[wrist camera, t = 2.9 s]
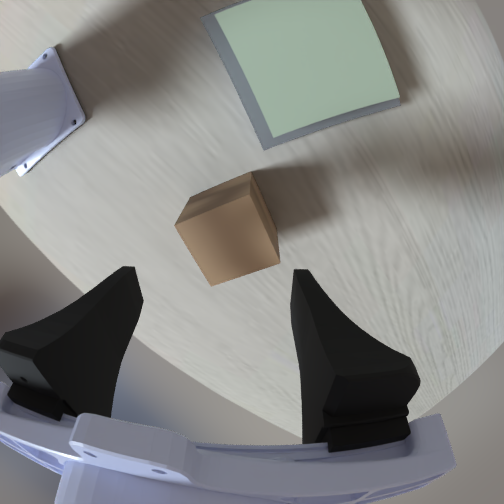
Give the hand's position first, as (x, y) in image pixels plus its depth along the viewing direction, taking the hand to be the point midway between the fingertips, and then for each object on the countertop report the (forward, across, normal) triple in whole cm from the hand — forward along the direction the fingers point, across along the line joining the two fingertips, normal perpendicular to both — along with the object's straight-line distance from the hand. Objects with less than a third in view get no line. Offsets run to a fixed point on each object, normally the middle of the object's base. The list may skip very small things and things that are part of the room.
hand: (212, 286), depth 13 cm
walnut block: (+11, 0, +1) cm, 11 cm away
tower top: (+9, -5, -11) cm, 15 cm away
